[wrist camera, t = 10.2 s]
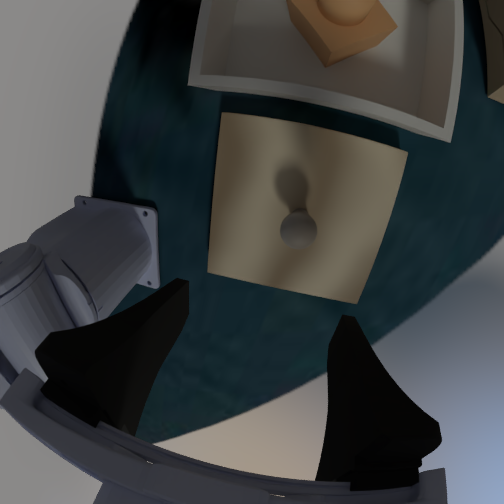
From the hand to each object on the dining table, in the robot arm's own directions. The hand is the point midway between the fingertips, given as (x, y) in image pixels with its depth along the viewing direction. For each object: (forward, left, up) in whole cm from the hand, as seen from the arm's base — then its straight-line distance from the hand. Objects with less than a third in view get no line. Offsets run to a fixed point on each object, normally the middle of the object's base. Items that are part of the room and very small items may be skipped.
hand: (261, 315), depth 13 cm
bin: (+1, +15, -9) cm, 18 cm away
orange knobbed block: (+1, +15, -9) cm, 17 cm away
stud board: (+1, +2, -9) cm, 10 cm away
